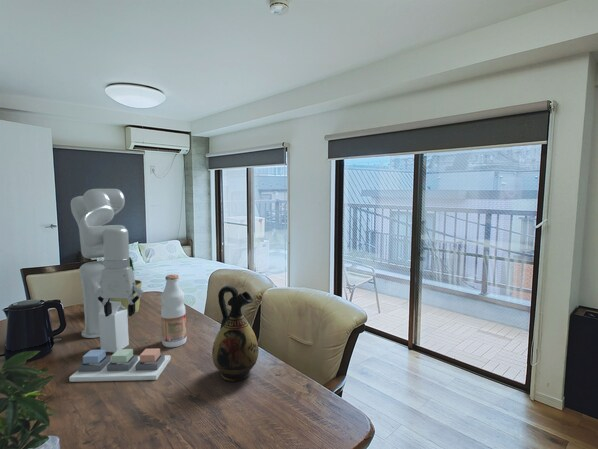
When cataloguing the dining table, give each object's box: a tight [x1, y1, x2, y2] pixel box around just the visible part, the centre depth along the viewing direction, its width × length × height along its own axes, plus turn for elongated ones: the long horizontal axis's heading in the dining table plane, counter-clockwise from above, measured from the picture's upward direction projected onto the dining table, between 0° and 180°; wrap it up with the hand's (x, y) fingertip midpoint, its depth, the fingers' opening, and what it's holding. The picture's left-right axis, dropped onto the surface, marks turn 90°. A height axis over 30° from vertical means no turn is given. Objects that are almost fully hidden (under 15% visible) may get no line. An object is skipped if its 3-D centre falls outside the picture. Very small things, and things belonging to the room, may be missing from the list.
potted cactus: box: [111, 256, 143, 316], centre depth 178 cm, size 15×15×30 cm
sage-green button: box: [110, 348, 134, 363], centre depth 120 cm, size 5×5×2 cm
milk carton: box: [99, 300, 130, 354], centre depth 136 cm, size 7×7×19 cm
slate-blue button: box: [82, 349, 107, 364], centre depth 120 cm, size 5×5×2 cm
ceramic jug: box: [211, 285, 260, 383], centre depth 116 cm, size 17×15×30 cm
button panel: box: [68, 354, 172, 383], centre depth 120 cm, size 14×28×4 cm, turn 92°
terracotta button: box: [139, 348, 161, 362], centre depth 120 cm, size 5×5×2 cm
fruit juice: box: [160, 274, 188, 348], centre depth 140 cm, size 9×9×28 cm
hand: (120, 314), depth 118 cm, fingers open, 7 cm apart
